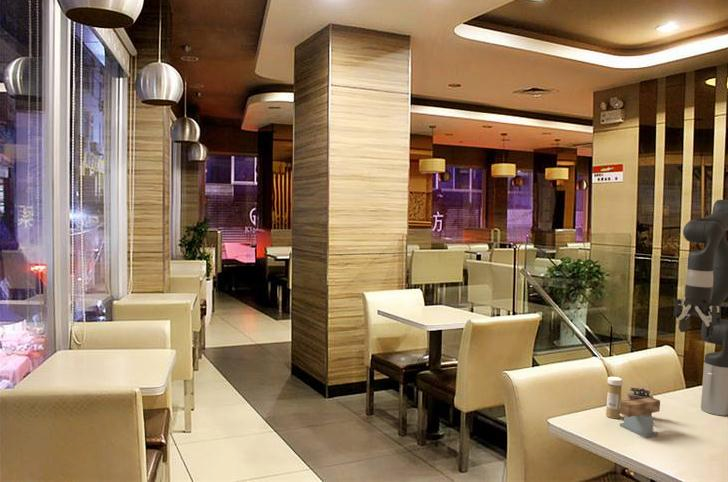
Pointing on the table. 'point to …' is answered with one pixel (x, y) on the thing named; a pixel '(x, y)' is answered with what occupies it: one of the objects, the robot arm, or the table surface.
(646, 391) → the lighter
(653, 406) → the walnut bar
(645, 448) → the table surface
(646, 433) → the fulcrum
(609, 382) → the sprinkles bottle
